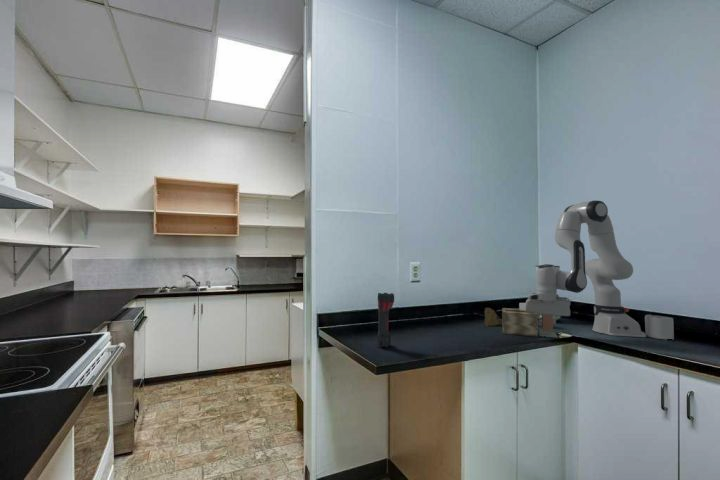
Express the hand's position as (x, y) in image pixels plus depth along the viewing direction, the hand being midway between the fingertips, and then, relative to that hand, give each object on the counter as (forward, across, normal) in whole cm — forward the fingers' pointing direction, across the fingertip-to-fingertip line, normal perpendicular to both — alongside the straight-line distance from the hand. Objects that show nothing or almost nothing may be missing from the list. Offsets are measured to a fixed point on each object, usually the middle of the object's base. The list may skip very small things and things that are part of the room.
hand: (547, 323), depth 169 cm
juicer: (+6, -6, -43) cm, 44 cm away
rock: (+6, +26, -14) cm, 30 cm away
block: (+3, 0, 0) cm, 3 cm away
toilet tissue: (+6, -51, -19) cm, 55 cm away
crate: (+6, +13, 0) cm, 14 cm away
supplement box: (+6, +7, -21) cm, 23 cm away
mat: (+6, 0, 0) cm, 6 cm away
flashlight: (+6, +69, +54) cm, 88 cm away
